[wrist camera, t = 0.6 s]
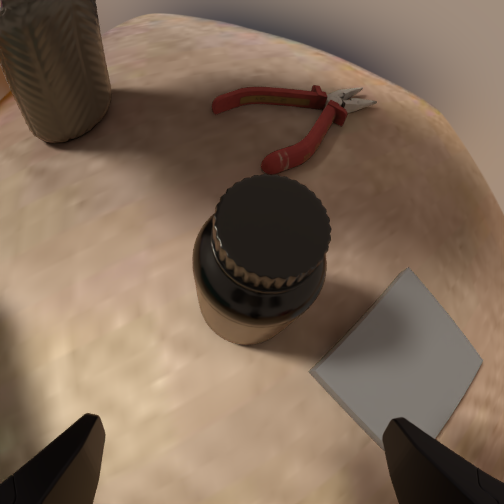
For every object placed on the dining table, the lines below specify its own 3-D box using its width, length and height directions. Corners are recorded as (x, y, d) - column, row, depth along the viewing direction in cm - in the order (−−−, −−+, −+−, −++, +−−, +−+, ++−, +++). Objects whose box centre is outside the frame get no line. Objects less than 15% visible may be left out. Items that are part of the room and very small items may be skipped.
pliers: (396, 130, 35) (404, 116, 32) (267, 184, 28) (272, 165, 26) (337, 77, 38) (343, 63, 36) (207, 111, 32) (208, 93, 29)
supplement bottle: (206, 252, 24) (206, 142, 14) (293, 265, 25) (352, 169, 14) (191, 340, 21) (171, 289, 11) (286, 352, 22) (358, 314, 11)
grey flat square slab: (472, 362, 23) (483, 360, 22) (400, 466, 19) (410, 469, 17) (399, 273, 26) (408, 266, 24) (308, 371, 21) (314, 370, 20)
